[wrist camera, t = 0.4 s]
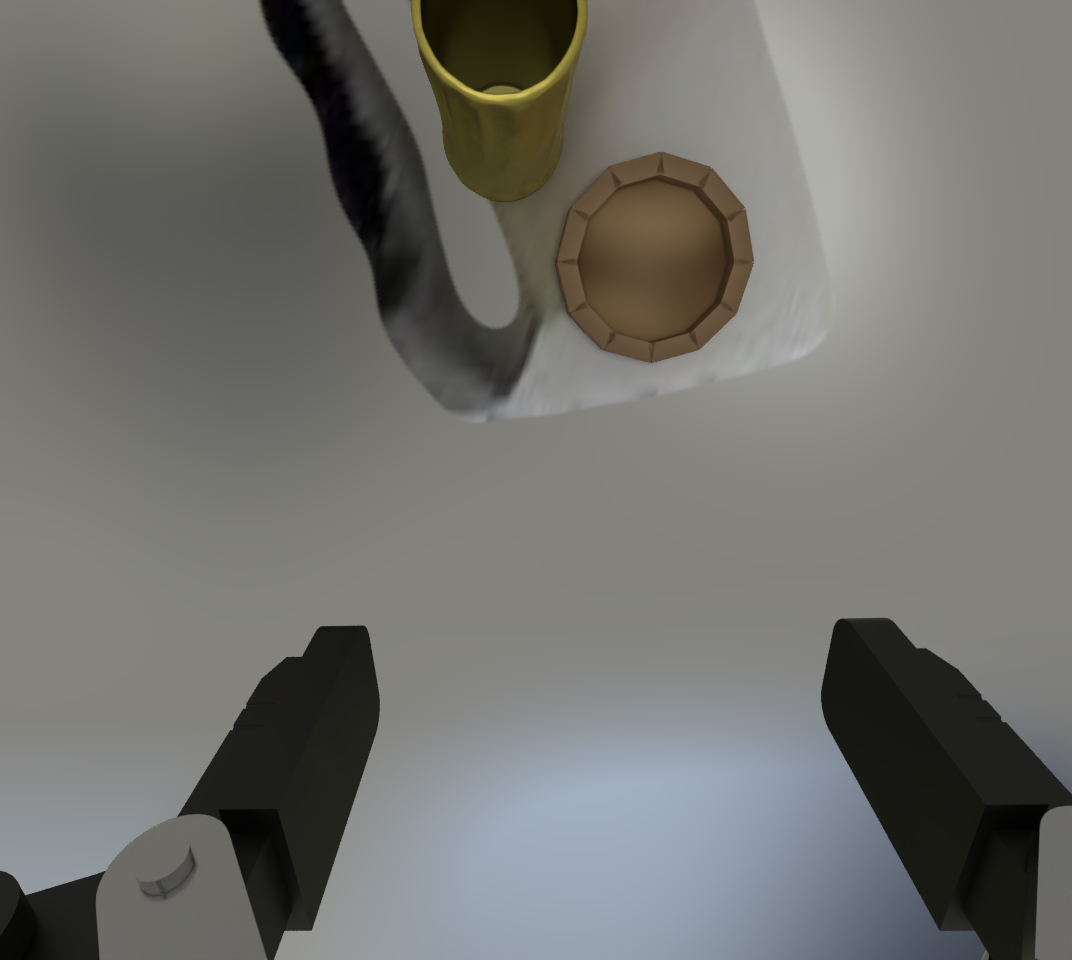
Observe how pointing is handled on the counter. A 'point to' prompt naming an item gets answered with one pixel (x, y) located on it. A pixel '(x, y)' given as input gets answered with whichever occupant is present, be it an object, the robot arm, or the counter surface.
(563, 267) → the round tray
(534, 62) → the vase
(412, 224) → the counter surface
